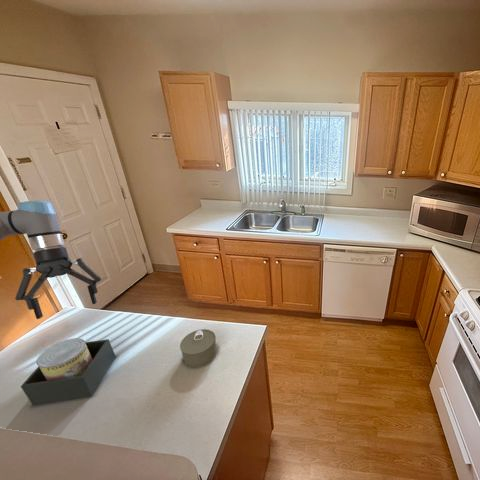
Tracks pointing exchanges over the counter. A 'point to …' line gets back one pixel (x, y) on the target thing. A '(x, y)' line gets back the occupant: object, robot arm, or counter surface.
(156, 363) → the counter surface
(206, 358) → the can
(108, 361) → the open dark gray bin
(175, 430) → the counter surface
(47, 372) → the canned food
